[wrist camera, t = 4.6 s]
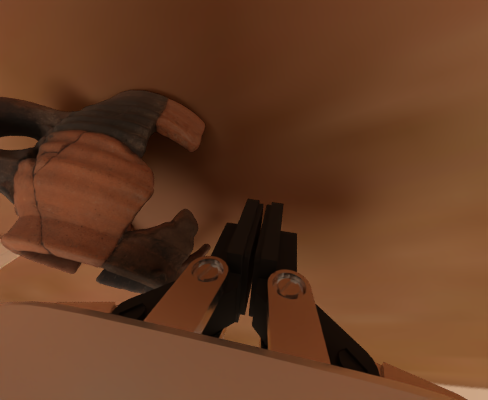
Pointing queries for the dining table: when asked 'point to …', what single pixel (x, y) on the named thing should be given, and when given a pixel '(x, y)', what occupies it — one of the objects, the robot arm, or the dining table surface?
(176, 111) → the pottery mug
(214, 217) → the dining table surface
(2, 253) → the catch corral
